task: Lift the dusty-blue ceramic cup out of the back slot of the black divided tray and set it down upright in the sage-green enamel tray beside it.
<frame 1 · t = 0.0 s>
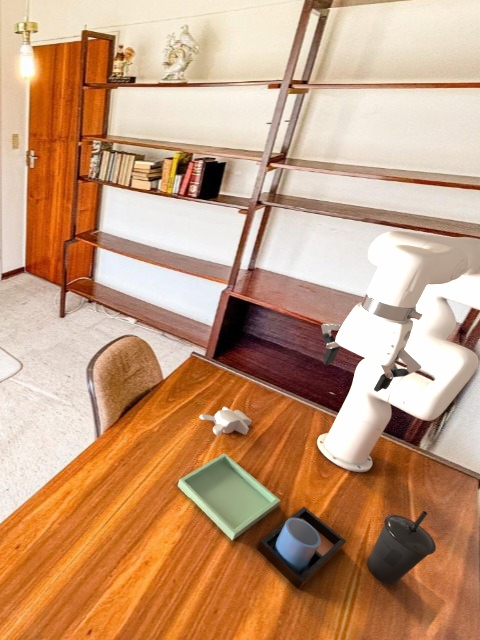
hand: (352, 375, 85), 37 cm above the table, tool pointing down, fingers open, 9 cm apart
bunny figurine: (225, 427, 120), on the table
drinking cup: (380, 573, 84), on the table
blue cup: (288, 557, 86), resting on black divided tray
black divided tray: (298, 550, 88), on the table
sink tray: (226, 496, 99), on the table
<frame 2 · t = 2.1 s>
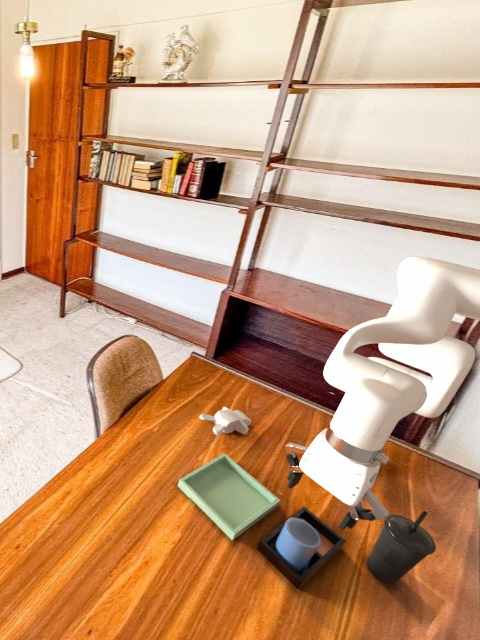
hand: (317, 504, 78), 18 cm above the table, tool pointing down, fingers open, 9 cm apart
nothing on the table moved.
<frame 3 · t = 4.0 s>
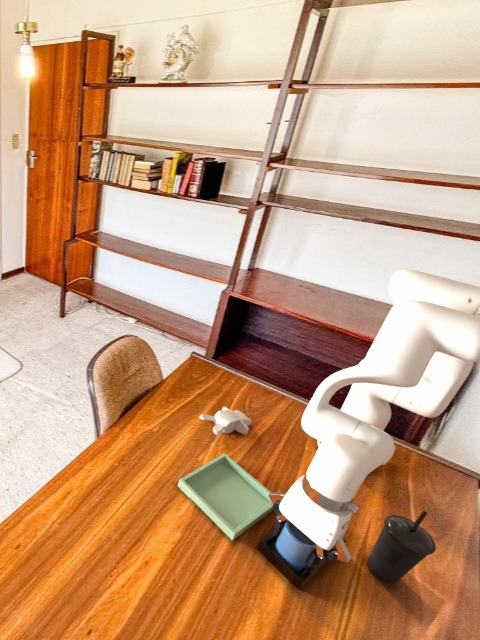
hand: (295, 546, 84), 5 cm above the table, tool pointing down, fingers closed on blue cup, 6 cm apart
blue cup: (288, 557, 86), point 1 cm above the table, touching black divided tray, gripper
everything else where it was.
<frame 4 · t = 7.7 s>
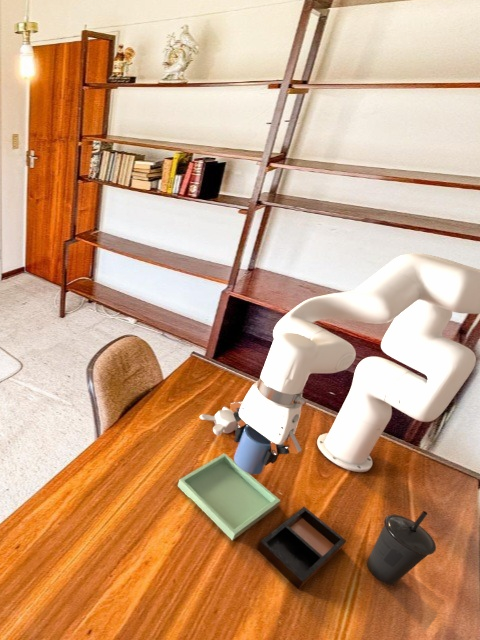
hand: (253, 450, 89), 18 cm above the table, tool pointing down, fingers closed on blue cup, 6 cm apart
blue cup: (248, 462, 91), point 14 cm above the table, touching gripper
everything else where it was.
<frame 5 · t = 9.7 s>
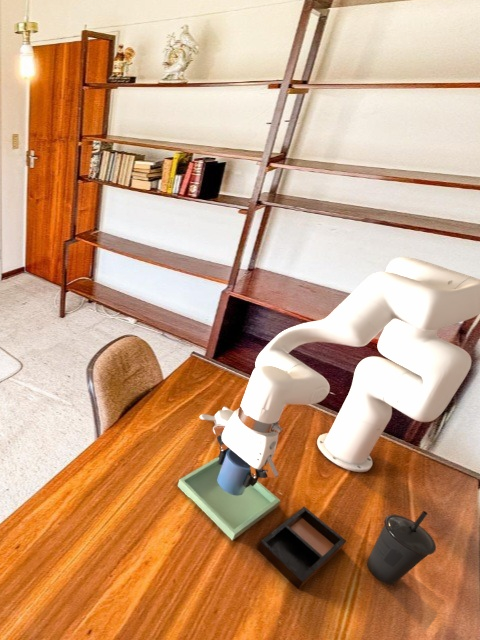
hand: (235, 472, 95), 9 cm above the table, tool pointing down, fingers closed on blue cup, 6 cm apart
blue cup: (230, 484, 97), point 5 cm above the table, touching gripper
everything else where it was.
when the fingers open (5 cm above the table, at t = 11.3 s): blue cup stays where it is, resting on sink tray.
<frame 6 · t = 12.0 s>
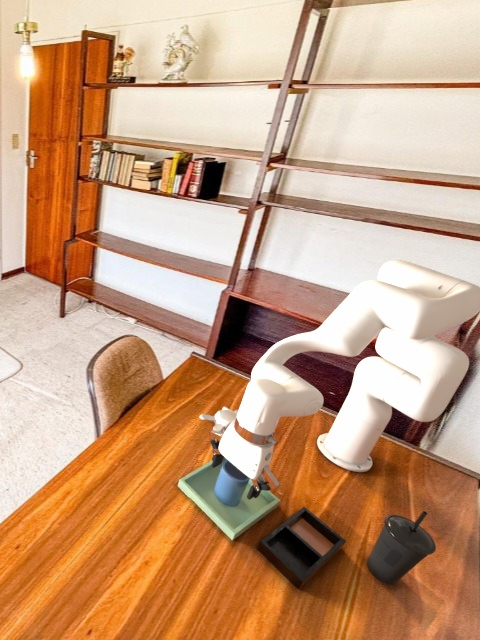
hand: (233, 479, 96), 6 cm above the table, tool pointing down, fingers open, 9 cm apart
blue cup: (226, 495, 98), point 1 cm above the table, touching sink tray
everything else where it was.
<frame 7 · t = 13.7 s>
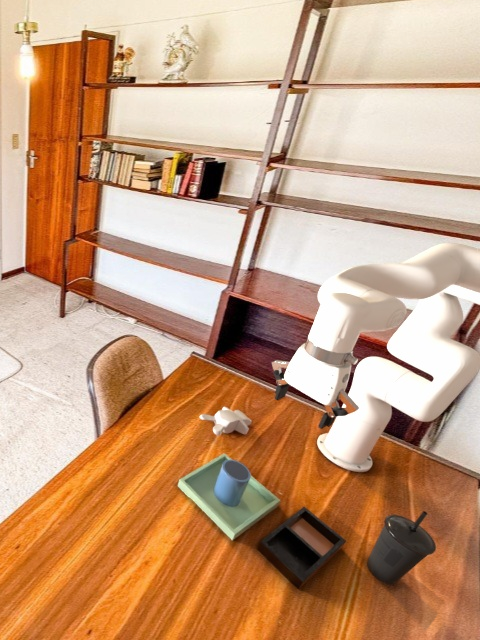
hand: (300, 411, 89), 27 cm above the table, tool pointing down, fingers open, 9 cm apart
nothing on the table moved.
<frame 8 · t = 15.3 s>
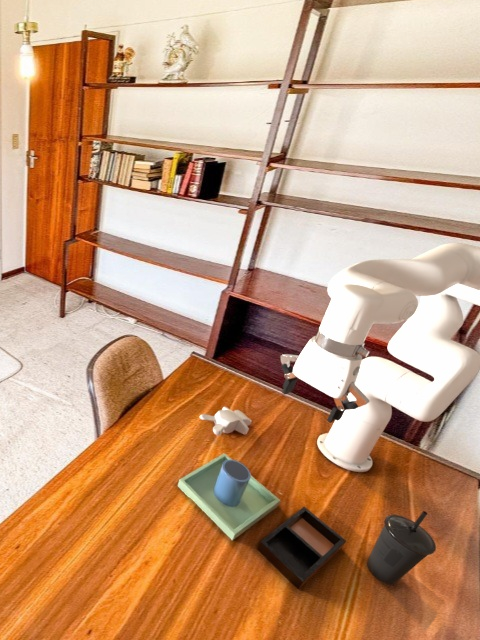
hand: (308, 405, 89), 28 cm above the table, tool pointing down, fingers open, 9 cm apart
nothing on the table moved.
at the end: blue cup inside the target area in the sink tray (0.1 cm from its centre), point 0.6 cm above the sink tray's base; blue cup tilted 0°; the gripper is holding nothing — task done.
